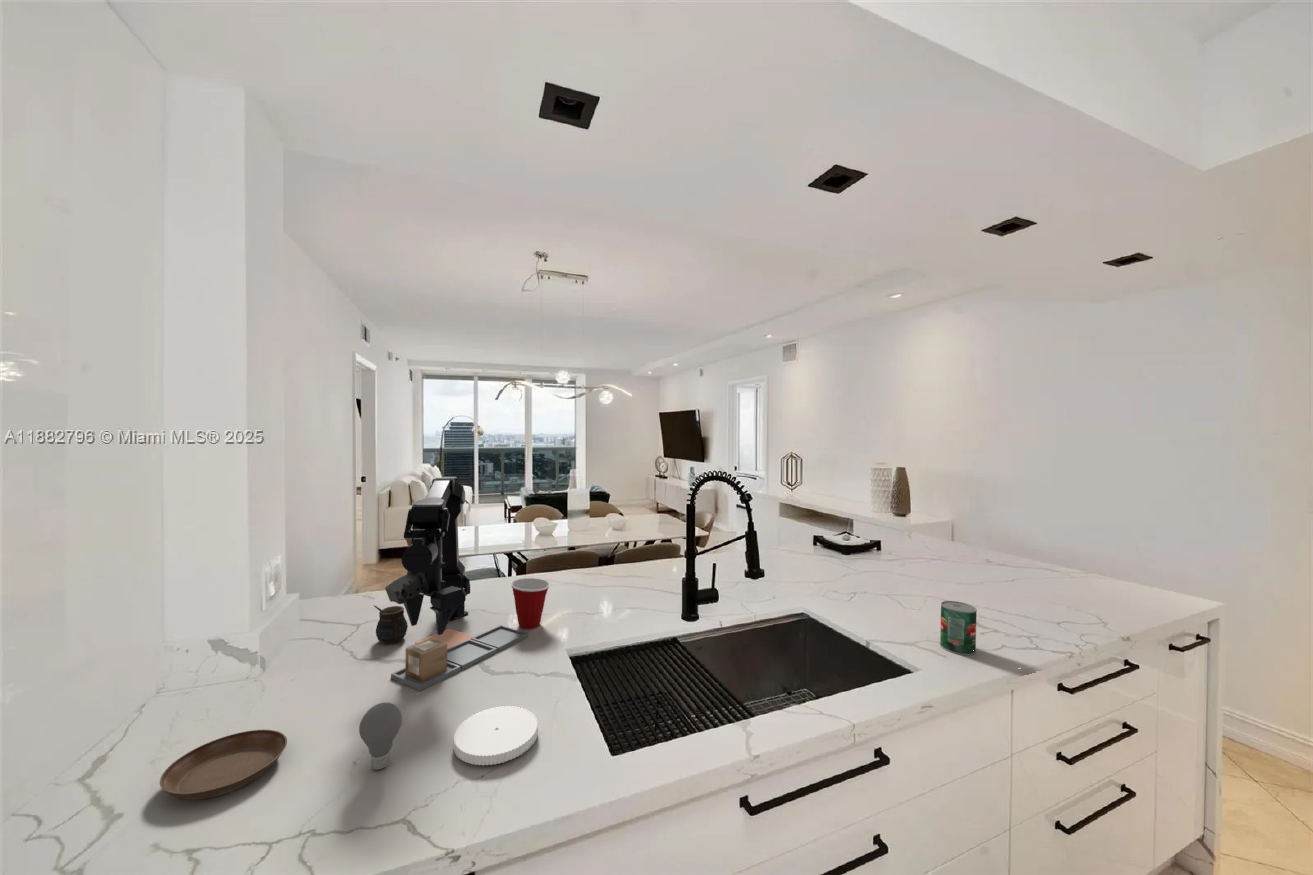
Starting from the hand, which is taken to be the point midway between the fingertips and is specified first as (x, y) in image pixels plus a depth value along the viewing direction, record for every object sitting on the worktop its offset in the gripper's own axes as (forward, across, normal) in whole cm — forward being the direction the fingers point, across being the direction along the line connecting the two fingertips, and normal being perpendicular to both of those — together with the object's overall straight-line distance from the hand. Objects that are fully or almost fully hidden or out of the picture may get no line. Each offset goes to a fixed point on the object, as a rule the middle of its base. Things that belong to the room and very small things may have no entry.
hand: (426, 629), depth 106 cm
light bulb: (+10, +20, -22) cm, 31 cm away
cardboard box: (+10, 0, 0) cm, 10 cm away
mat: (+10, -11, +13) cm, 20 cm away
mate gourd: (+10, -23, +6) cm, 26 cm away
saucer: (+10, +1, -35) cm, 37 cm away
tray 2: (+10, 0, +10) cm, 14 cm away
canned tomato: (+10, +104, +79) cm, 131 cm away
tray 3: (+10, 0, +21) cm, 23 cm away
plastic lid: (+11, +31, -8) cm, 34 cm away
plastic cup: (+10, 0, +32) cm, 34 cm away
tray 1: (+10, 0, 0) cm, 10 cm away
